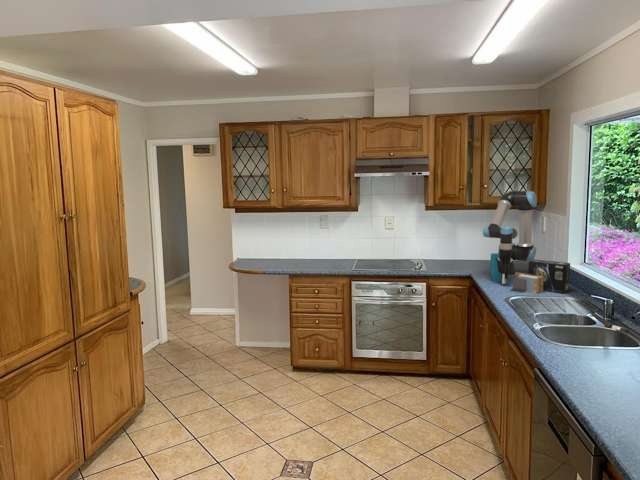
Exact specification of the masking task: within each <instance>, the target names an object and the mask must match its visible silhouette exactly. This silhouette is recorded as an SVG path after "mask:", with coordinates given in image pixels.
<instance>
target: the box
mask: <svg viewBox="0 0 640 480" xmlns="http://www.w3.org/2000/svg"><path fill="white" fill-rule="evenodd" d="M527 270H528V273H527V274H530V275H537V276H543V277H544V284H543V292H549V293H558V294H566V293H569V291H570V275H571V274H570V273H571V271H570V270H571V263H570V262H564V261H563V262H562V261H552V260H545V259H544V260H543V259H534V260H531V261H528V269H527Z"/></svg>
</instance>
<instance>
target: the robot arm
mask: <svg viewBox="0 0 640 480" xmlns="http://www.w3.org/2000/svg"><path fill="white" fill-rule="evenodd" d="M537 203H538V198H537V194H536V193H535V191H534V190H533V191H532V190H512V191H511V190H510V191H508V192H506V193H505V194H503V195H502V196H501V197H500V199H499V200H498V202H497V208H496V209H495V212H494V214H493V216H492V218H491V221H490V223H489V225H488V226H484V227H483V230H482V235H483V237H484V238H490V239H493V238H494V239H499V242H500V243H499V245H498V253H500V256H499V258H496V261H497V265H498V272H499V273H501V278H502V282H501V284H502V285H505V284H507V280H506V279H508V278H509V277H508V276H509V275H515V273H516V272H517V270H516V269H517V268H516V266H515V262H516V261H518V262H519V261H520V262H529V261H531V260H535V257H536V253H537V247H536V246H534V243H533V242H532V241H533V240H532V232H533V231H532V226H533V223H532V222H533V220H532V219H533V216H532V215H533V211H534V210H535V208H536V207H537ZM512 207H513V208H514V207H515V208H516V210H517V211H518V223H519V224H518V226H519V227H518V229H517V228H515V227H512V226H509V225H508V226H506V225H505V226H503V225H502V224H503V221H504V220H505V218H506V215H507V213H508V210H510V209H511V208H512ZM518 235H519V236H518ZM517 236H518V242H517V244H516V243H515V242H513V239H516V238H517ZM500 260H501V262H500ZM501 264H502V265H501ZM508 266H509V269H508ZM504 273H505V274H504Z"/></svg>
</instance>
